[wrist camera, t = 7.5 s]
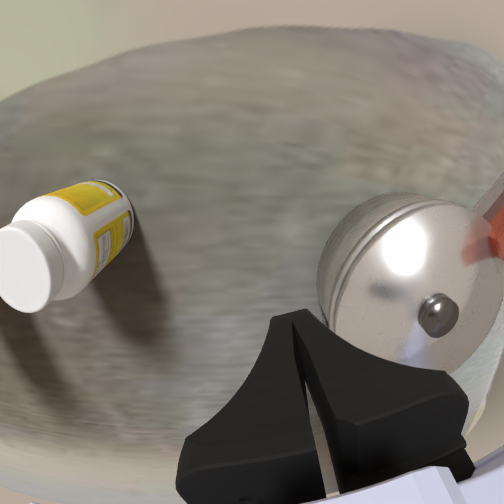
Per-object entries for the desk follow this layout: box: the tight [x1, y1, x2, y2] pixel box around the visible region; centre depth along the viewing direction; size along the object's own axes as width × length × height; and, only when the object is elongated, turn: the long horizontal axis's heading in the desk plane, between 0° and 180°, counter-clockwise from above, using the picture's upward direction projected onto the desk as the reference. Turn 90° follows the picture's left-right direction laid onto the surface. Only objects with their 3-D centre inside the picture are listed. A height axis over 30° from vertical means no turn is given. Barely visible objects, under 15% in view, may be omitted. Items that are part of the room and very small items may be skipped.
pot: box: [317, 172, 504, 331], centre depth 20 cm, size 20×13×5 cm, turn 134°
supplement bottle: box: [0, 180, 134, 313], centre depth 16 cm, size 5×5×10 cm
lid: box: [333, 203, 504, 375], centre depth 16 cm, size 18×12×2 cm
